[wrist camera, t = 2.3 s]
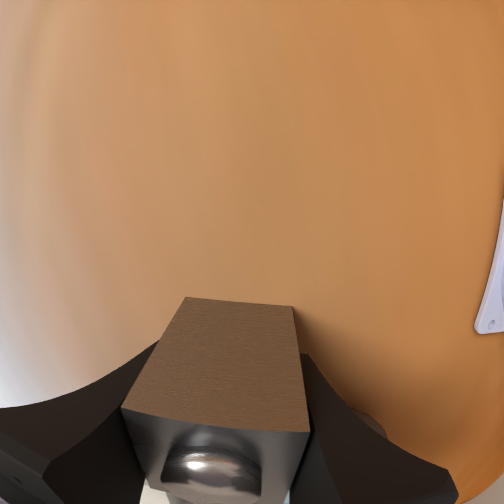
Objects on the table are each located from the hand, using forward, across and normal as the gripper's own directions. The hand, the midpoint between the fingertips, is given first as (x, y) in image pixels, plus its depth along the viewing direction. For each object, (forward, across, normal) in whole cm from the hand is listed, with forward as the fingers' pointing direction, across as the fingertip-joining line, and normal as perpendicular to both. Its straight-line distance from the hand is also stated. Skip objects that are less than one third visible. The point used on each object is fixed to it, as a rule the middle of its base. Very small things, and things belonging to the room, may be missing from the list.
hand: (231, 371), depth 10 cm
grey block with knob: (+2, 0, 0) cm, 2 cm away
